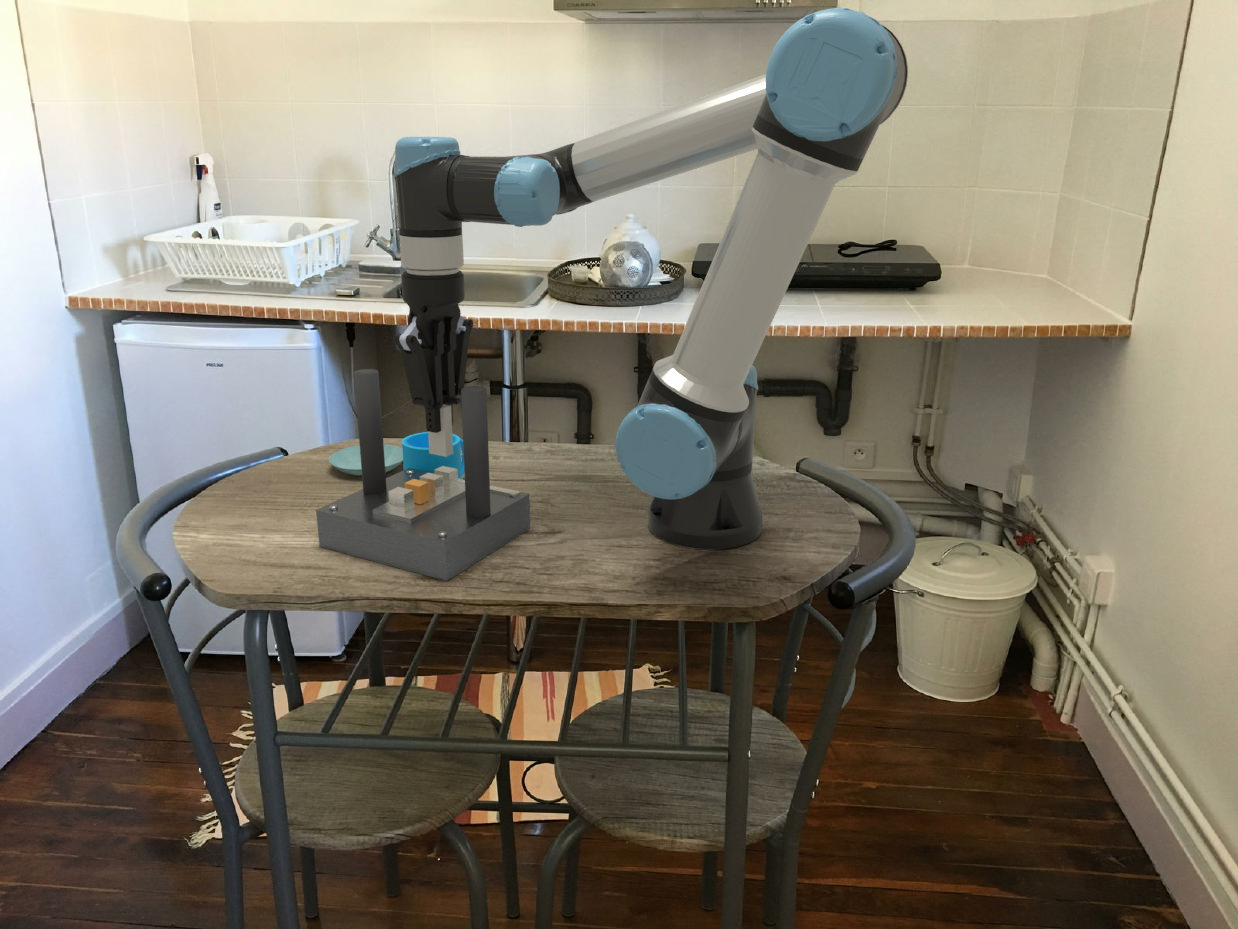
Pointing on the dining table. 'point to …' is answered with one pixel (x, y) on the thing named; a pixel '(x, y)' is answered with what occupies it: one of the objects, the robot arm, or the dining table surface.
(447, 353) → the robot arm
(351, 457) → the saucer
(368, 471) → the dark grey upright post
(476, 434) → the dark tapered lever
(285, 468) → the dining table surface
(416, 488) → the orange cube
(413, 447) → the mug
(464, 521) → the breaker panel
